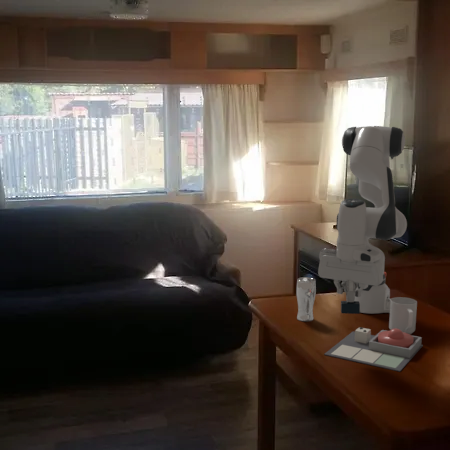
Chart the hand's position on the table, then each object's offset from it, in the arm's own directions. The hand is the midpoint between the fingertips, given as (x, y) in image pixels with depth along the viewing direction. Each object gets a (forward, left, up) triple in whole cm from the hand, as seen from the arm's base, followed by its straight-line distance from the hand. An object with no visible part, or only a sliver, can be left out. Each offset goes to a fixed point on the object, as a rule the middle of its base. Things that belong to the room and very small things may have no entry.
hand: (349, 294), depth 197 cm
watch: (+1, +1, -6) cm, 6 cm away
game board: (-6, +7, -19) cm, 21 cm away
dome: (-12, +12, -18) cm, 25 cm away
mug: (-28, +10, -19) cm, 35 cm away
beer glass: (-23, -25, -19) cm, 39 cm away
